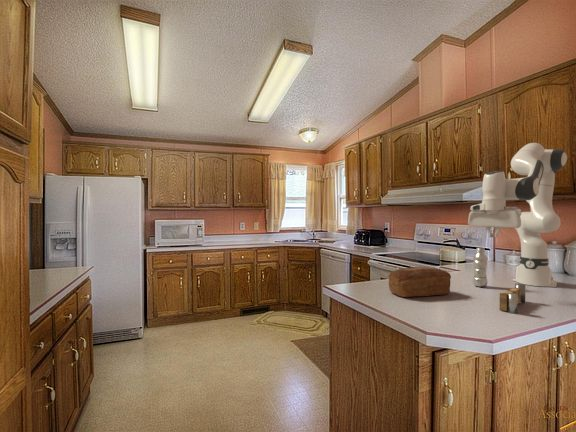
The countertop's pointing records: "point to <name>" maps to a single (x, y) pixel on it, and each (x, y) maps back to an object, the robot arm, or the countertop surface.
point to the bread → (419, 282)
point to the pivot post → (521, 291)
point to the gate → (505, 298)
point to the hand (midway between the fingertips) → (493, 237)
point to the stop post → (512, 303)
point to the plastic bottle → (480, 268)
